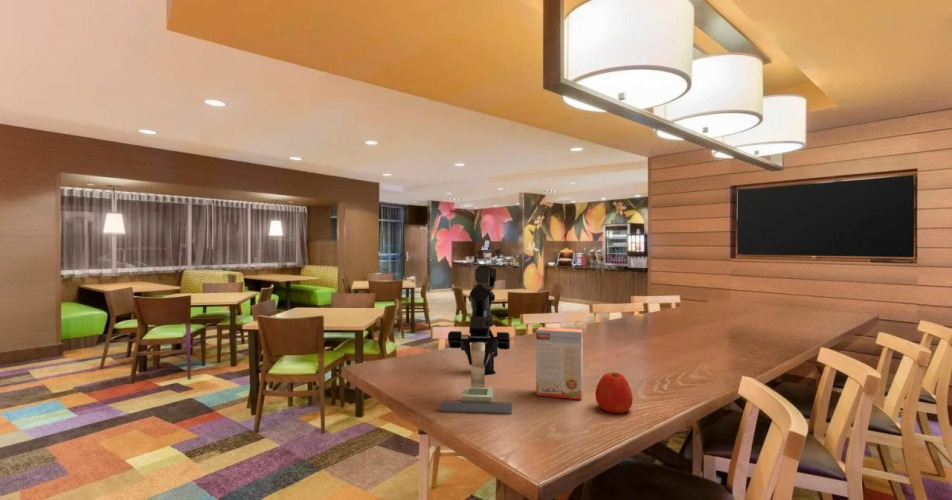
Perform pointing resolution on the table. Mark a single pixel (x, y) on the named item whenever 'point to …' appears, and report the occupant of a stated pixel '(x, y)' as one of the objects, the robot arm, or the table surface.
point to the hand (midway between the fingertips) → (477, 364)
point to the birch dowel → (477, 365)
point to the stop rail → (476, 407)
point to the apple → (614, 393)
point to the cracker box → (559, 362)
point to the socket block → (478, 394)
